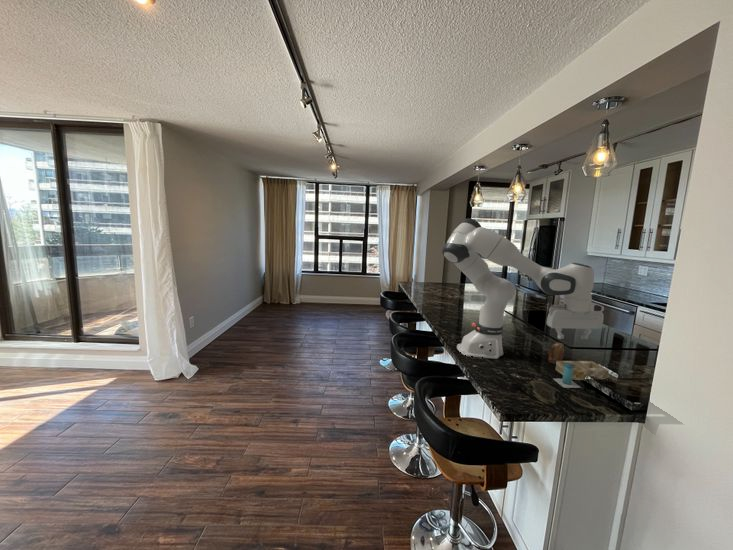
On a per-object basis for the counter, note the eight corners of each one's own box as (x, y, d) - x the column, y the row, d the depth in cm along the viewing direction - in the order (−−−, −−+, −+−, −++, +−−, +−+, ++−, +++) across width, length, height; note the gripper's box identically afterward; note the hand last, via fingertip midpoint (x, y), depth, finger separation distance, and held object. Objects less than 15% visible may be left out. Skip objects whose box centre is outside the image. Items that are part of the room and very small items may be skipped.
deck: (563, 389, 118) (563, 387, 118) (552, 380, 125) (552, 378, 125) (581, 389, 118) (581, 387, 118) (568, 380, 125) (569, 378, 125)
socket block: (569, 381, 124) (571, 370, 123) (555, 371, 133) (556, 360, 132) (607, 382, 124) (609, 370, 123) (590, 371, 133) (592, 360, 132)
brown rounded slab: (553, 366, 137) (555, 349, 136) (545, 364, 140) (547, 347, 138) (564, 358, 147) (566, 341, 146) (557, 356, 149) (559, 340, 148)
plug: (565, 385, 120) (567, 366, 118) (559, 380, 123) (562, 362, 122) (573, 385, 120) (576, 366, 118) (567, 380, 123) (570, 362, 122)
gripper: (555, 306, 113) (551, 341, 115) (608, 307, 113) (603, 341, 116) (545, 302, 119) (541, 335, 122) (595, 303, 120) (591, 336, 122)
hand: (572, 338), depth 119 cm, fingers open, 8 cm apart
